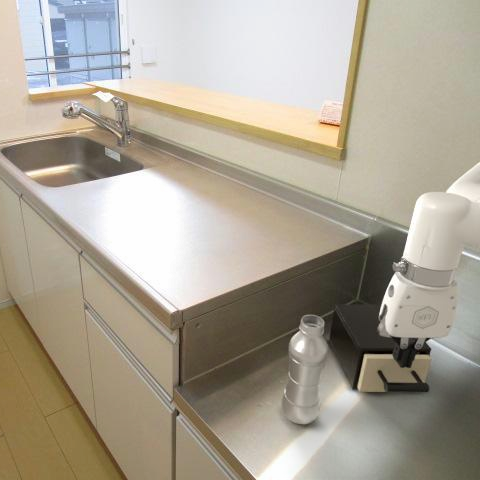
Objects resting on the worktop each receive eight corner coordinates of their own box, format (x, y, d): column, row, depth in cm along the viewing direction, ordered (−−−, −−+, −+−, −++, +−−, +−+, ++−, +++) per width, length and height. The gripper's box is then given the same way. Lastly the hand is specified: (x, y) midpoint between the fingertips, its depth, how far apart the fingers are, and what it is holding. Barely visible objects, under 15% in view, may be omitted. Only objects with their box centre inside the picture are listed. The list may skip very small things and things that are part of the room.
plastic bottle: (321, 409, 81) (338, 316, 73) (312, 435, 76) (329, 338, 68) (286, 396, 84) (298, 305, 76) (275, 420, 79) (286, 326, 71)
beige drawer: (435, 412, 79) (446, 377, 76) (369, 411, 79) (377, 376, 76) (390, 346, 96) (397, 315, 92) (336, 346, 96) (341, 315, 93)
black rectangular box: (419, 389, 85) (431, 348, 81) (352, 389, 86) (360, 348, 82) (386, 342, 98) (395, 304, 94) (328, 341, 99) (334, 304, 95)
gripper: (389, 281, 68) (366, 376, 76) (490, 282, 68) (457, 378, 75) (369, 259, 75) (350, 348, 83) (461, 260, 74) (433, 349, 82)
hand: (401, 362), depth 79 cm, fingers closed
